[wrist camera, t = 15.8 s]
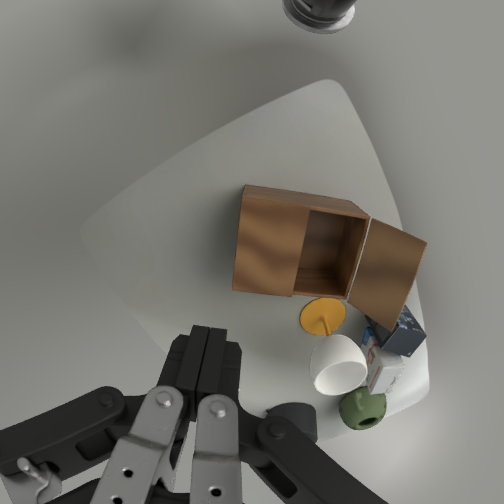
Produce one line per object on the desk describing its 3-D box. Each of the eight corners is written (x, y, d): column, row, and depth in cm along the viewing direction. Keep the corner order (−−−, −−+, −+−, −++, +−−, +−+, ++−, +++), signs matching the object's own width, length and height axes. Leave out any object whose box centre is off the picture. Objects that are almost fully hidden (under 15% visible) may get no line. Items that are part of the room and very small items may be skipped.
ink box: (365, 327, 52) (383, 367, 41) (386, 325, 52) (406, 364, 41) (356, 356, 56) (370, 396, 45) (376, 354, 55) (392, 393, 45)
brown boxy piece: (245, 184, 42) (241, 197, 33) (351, 201, 42) (372, 218, 34) (236, 261, 47) (231, 290, 38) (333, 273, 47) (347, 302, 39)
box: (405, 304, 50) (427, 336, 40) (390, 324, 52) (408, 358, 42) (379, 292, 49) (400, 326, 39) (363, 315, 51) (380, 350, 41)
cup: (353, 301, 50) (380, 360, 35) (335, 336, 53) (353, 397, 39) (308, 292, 49) (325, 355, 34) (293, 330, 53) (302, 395, 38)
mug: (386, 398, 63) (395, 421, 55) (345, 416, 66) (350, 440, 58) (374, 369, 58) (384, 396, 50) (326, 391, 61) (331, 419, 53)
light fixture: (281, 451, 47) (333, 457, 49) (279, 396, 61) (325, 407, 64) (253, 469, 52) (302, 475, 54) (255, 420, 66) (298, 429, 69)
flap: (426, 243, 28) (427, 242, 28) (371, 218, 34) (373, 218, 34) (391, 331, 33) (392, 330, 33) (346, 302, 39) (348, 301, 39)
